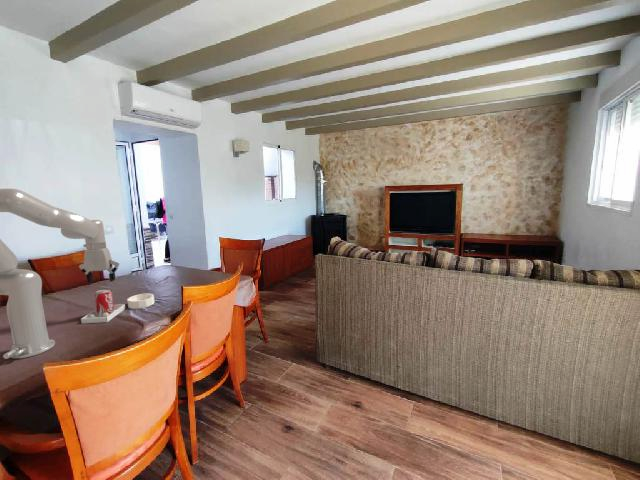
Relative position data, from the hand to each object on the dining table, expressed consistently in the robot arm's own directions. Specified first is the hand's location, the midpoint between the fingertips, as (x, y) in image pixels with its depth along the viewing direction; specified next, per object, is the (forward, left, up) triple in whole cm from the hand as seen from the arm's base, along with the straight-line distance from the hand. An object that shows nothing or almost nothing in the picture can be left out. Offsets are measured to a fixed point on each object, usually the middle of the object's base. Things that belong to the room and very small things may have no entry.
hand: (101, 281), depth 143 cm
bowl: (+12, -11, -17) cm, 23 cm away
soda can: (0, 0, -17) cm, 17 cm away
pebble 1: (-6, +3, -17) cm, 18 cm away
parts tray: (-1, 0, -17) cm, 17 cm away
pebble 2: (-6, -3, -17) cm, 18 cm away
